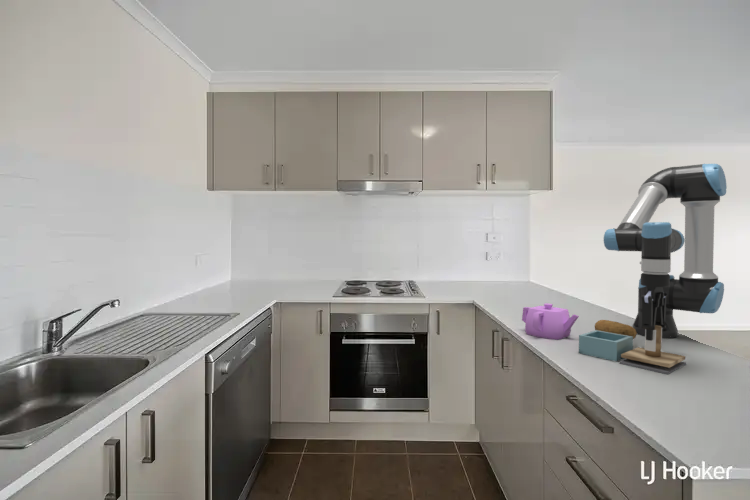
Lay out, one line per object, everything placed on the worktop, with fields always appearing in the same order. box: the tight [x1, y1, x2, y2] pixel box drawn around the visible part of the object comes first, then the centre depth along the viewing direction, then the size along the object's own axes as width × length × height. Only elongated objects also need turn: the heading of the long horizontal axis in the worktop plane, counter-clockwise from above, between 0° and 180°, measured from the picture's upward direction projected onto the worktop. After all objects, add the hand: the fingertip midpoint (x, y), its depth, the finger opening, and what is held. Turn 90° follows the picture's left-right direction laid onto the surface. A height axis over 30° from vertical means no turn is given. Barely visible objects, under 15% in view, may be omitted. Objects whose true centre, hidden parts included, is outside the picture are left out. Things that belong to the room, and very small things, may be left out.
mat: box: [619, 358, 687, 375], centre depth 134 cm, size 15×13×1 cm
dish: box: [578, 329, 634, 362], centre depth 145 cm, size 12×12×6 cm
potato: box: [594, 319, 638, 340], centre depth 159 cm, size 10×14×8 cm
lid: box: [621, 325, 686, 368], centre depth 134 cm, size 13×13×10 cm
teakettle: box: [521, 302, 580, 341], centre depth 172 cm, size 17×17×12 cm
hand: (653, 349), depth 134 cm, fingers closed on lid, 4 cm apart
